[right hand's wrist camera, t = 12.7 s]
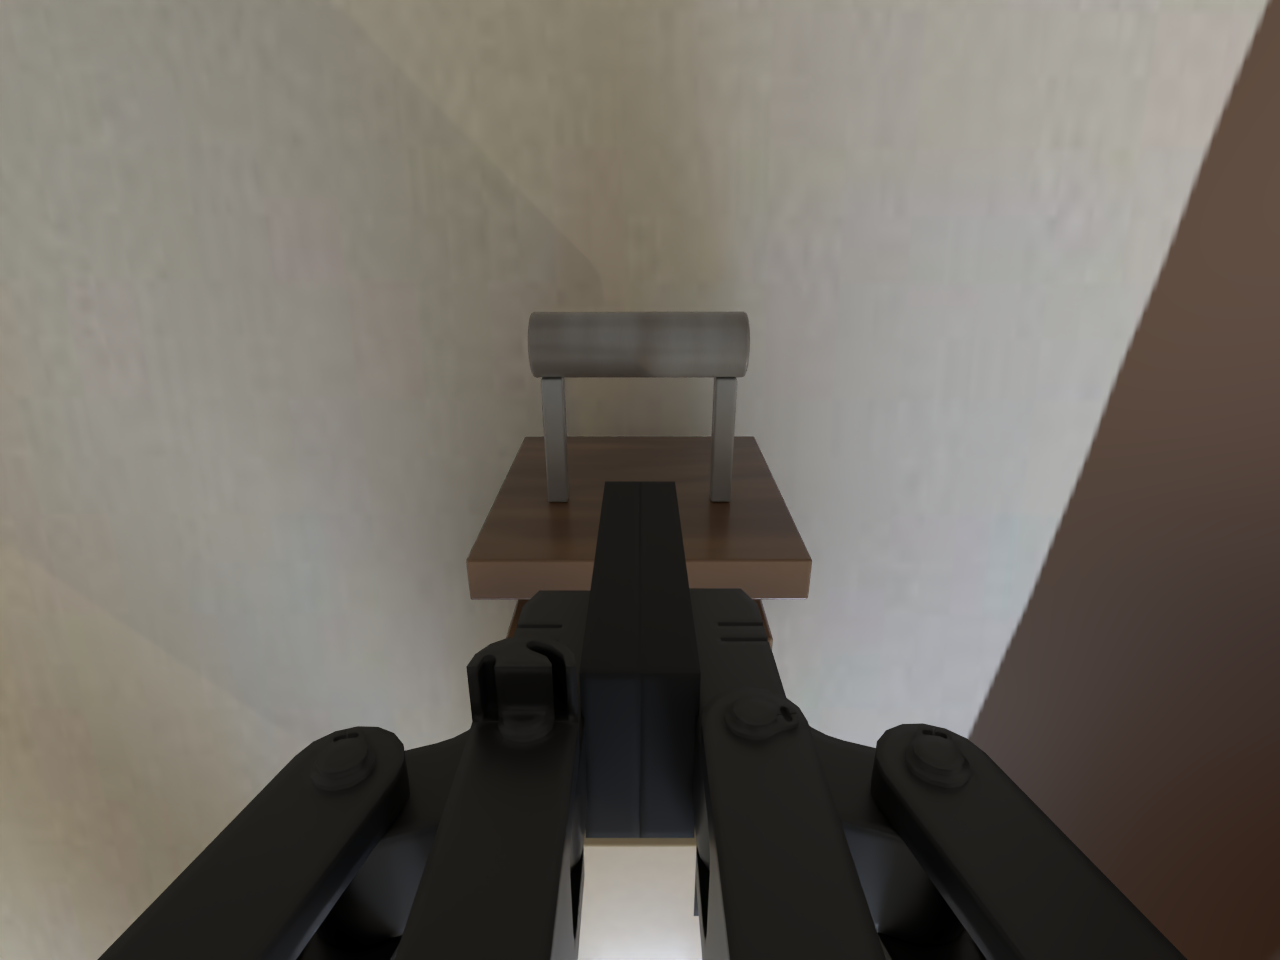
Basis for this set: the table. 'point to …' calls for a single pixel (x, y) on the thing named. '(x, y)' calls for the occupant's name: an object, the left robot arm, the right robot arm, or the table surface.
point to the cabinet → (639, 900)
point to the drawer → (638, 467)
